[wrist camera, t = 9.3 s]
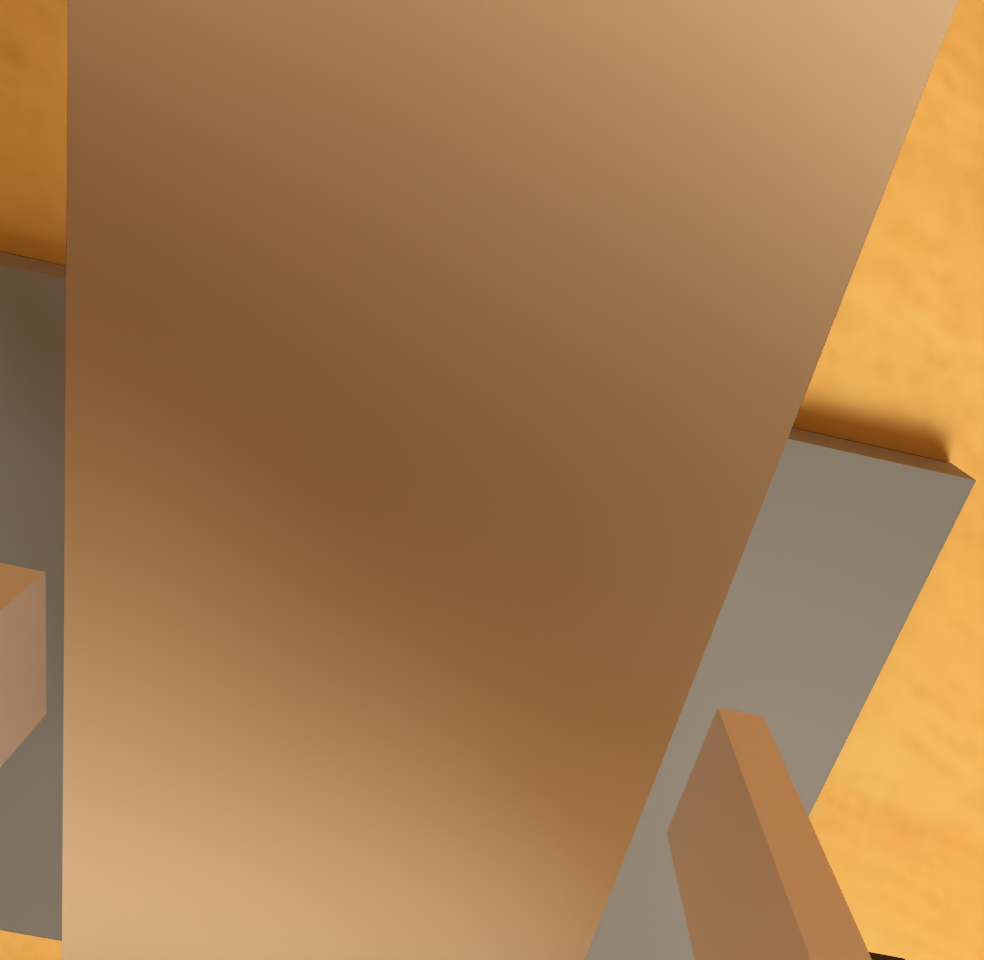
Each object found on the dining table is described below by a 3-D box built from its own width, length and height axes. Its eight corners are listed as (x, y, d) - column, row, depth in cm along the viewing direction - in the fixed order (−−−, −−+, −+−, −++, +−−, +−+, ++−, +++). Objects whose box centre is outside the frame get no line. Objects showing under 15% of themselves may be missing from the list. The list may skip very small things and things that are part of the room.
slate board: (-31, 889, 23) (-54, 920, 22) (-70, 235, 16) (-107, 240, 15) (683, 1017, 24) (690, 1051, 23) (950, 463, 17) (975, 480, 16)
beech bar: (326, -48, 8) (72, -329, 3) (728, 54, 8) (991, -85, 4) (194, 1095, 16) (59, 1487, 11) (407, 1131, 16) (362, 1530, 11)
